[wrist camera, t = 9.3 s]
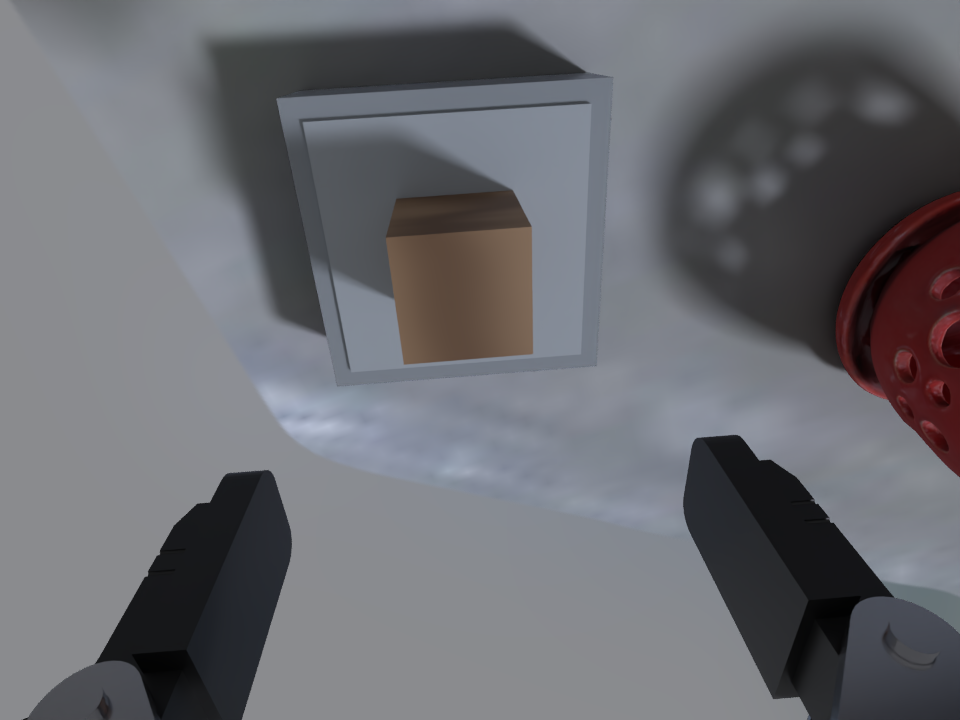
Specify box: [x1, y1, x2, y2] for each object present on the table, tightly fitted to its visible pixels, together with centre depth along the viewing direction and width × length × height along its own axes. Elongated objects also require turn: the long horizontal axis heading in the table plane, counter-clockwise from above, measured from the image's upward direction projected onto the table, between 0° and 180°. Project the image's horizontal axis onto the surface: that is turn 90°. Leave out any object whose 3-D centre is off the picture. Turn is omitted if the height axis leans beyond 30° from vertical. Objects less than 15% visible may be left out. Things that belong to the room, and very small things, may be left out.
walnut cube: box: [386, 190, 533, 365], centre depth 20 cm, size 4×4×5 cm
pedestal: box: [276, 73, 613, 386], centre depth 24 cm, size 12×12×4 cm
